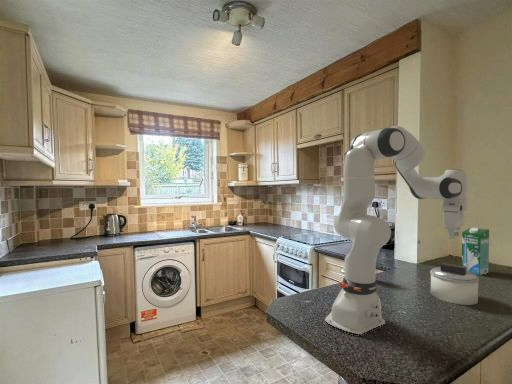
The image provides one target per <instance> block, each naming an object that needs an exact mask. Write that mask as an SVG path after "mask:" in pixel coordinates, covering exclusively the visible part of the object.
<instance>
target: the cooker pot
mask: <svg viewBox="0 0 512 384" xmlns="http://www.w3.org/2000/svg"><path fill="white" fill-rule="evenodd" d="M429 274H430V294H431V295H432V297H434V298H436V299H438V300H441V301H443V302H446V303H450V304H453V305H454V304H455V305H461V306H473V305H474V306H475V305H477V304H478V302H479V281H480V276H478V275H476V279H475V280H471V281H462V280H454V279H448V278H444V277H441V276H438V275H435V274H434V273H433V272H432V269H431V270H430V271H429Z"/></svg>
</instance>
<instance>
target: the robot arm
mask: <svg viewBox="0 0 512 384" xmlns="http://www.w3.org/2000/svg"><path fill="white" fill-rule="evenodd" d="M425 155H426V150H425V147H424V146H423V145H422V144H421V142H420V141H419V140H418V139H417V138H416V137H415V136H414V135H413V134H412V133H410V131H408V130H407V129H406V128H404V127H403V126H402V125H401V126H400V125H393V126H391V127H385V128H383V129H382V128H381V129H380V128H379V129H375V130H370V131H366V132H364V133H361V134H358V135H356V136H355V137H353V138H352V140H351V141H350V144H349V150H348V151H347V152H346V153H345V157H344V163H343V199H342V204H341V205H342V206H341V207H340V212H339V214H338V215H337V216H336V217H335V219H334V221H333V222H334V223H333V227H334V228H333V229H334V230H335V232H336V234H338V235H339V236H341V237H342V238H343V239H345V240H349V241H352V245H351V249H350V251H349V253H347V254H346V255H345V257H344V276H343V279H342V281H339V282H338V287H339V288H341V289H340V291H339V293H338V295H337V296H336V298H335V300H334V302H333V304H332V305H331V306H332V307H331V311H330V313H329V314H328V315H327V316H326V317H325V318H324V322H325V321H326V322H327V323H328V324H330V325H332V326H334V327H337V328H339V329H342V330H344V331H348V332H352V333H356V334H362V333H364V332H367V331H369V330H371V329H373V328H376V327H378V326H380V327H382V326H384V325H386V320H385V319H384V318H383V317H382V304H381V299H380V297H379V295H378V293H377V288H378V283H377V280H376V272H377V271H376V269H377V258H378V256H379V253H380V251H381V248H383V246H385V245H386V244H387V243H388V242H389V240H391V239H390V238H391V237H392V236H391V234H392V230H391V226H390V224H389V222H387V221H386V220H384V219H382V218H380V217H378V216H376V215H370V214H367V213H368V208H369V205H370V204H371V203H372V202H373V201H374V199H375V197H376V181H375V180H376V179H375V178H376V177H375V176H376V174H375V162H376V160H382V159H386V158H392V159H393V160H394V161H395V162H394V165H395V169H396V171H397V173H399V175H400V176H401V177H402V179H403V180H404V182H405V183H406V184H407V187H408V188H409V190H410V192H411V195H413V197H414V198H416V199H417V200H426V199H430V200H442V205H441V212H442V217H443V218H442V219H443V228H444V229H446V230H447V233H448V239H449V240H454V239H455V237H459V236H460V231H461V227H462V226H463V225H464V223H465V222H464V221H465V220H464V218H465V217H464V211H465V212H467V211H468V198H467V193H468V177H467V172H466V171H464V170H463V169H456V168H452V169H451V168H450V169H446V170H445V171H444V173H443V174H442V175H439V176H430V177H429V176H421V175H420V174H419V173H418V172H417V171H416V169H415V168H416V167H418V166H419V165H420V164H421V163H422V162H423V160H424V158H425ZM326 322H325V323H326ZM327 323H326V324H327ZM328 324H327V325H328ZM383 324H384V325H383ZM330 325H329V326H330ZM381 325H382V326H381ZM332 326H331V327H332ZM378 328H379V327H378ZM376 329H377V328H376Z"/></svg>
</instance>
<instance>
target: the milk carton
mask: <svg viewBox="0 0 512 384" xmlns="http://www.w3.org/2000/svg"><path fill="white" fill-rule="evenodd" d="M489 252H490V229H489V228H488V229H487V228H481V227H469V228H467V229H466V230H464V231H462V232H461V266H463V267H467V271H469V272H472V273H474V274H476V276H479V275H480V276H483V274H484V275H488V274H489V263H490V261H489V260H490V259H489V257H490V256H489V255H490V253H489ZM487 273H488V274H487Z"/></svg>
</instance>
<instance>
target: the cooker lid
mask: <svg viewBox="0 0 512 384" xmlns="http://www.w3.org/2000/svg"><path fill="white" fill-rule="evenodd" d="M431 270H432V272H433V273H434V274H435V275H438V276H441V277H444V278H448V279H454V280H462V281H471V280H475V279H476V276H477V275H476V274H474V273H472V272H469V271H467V267H463V266H462V265H457V264H451V263H445V262H441V263H440V266H437V267H433V268H431Z"/></svg>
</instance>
